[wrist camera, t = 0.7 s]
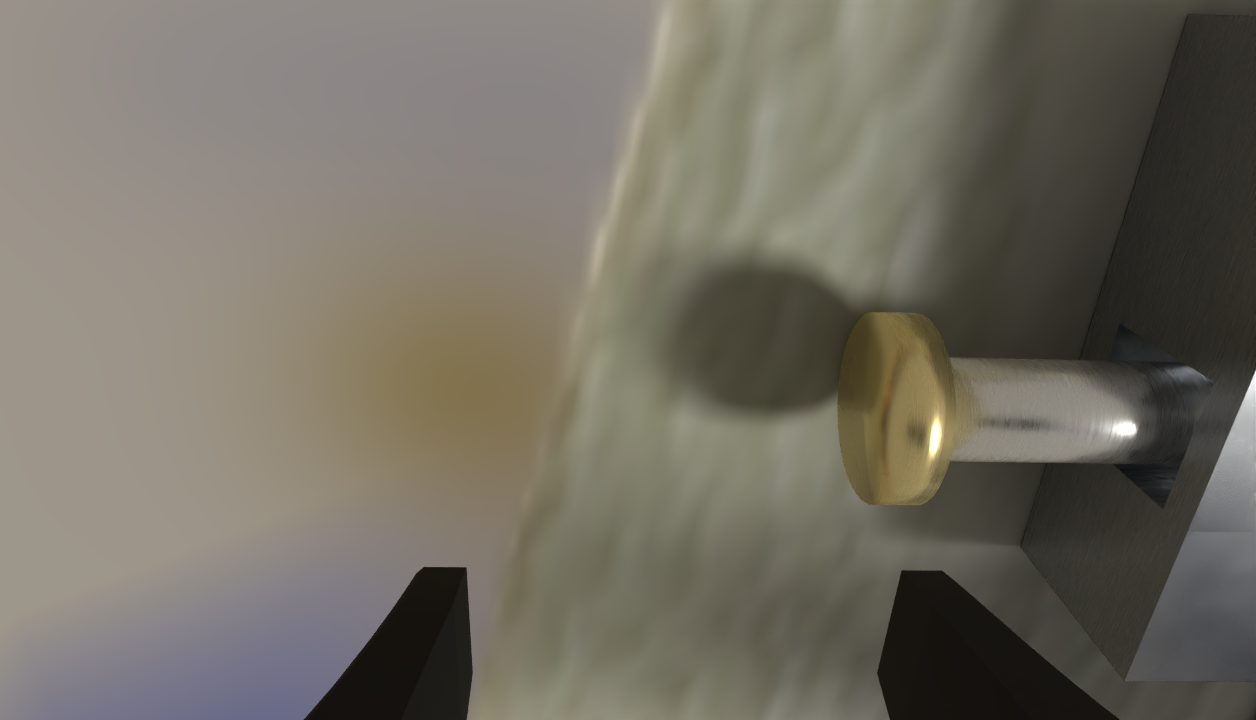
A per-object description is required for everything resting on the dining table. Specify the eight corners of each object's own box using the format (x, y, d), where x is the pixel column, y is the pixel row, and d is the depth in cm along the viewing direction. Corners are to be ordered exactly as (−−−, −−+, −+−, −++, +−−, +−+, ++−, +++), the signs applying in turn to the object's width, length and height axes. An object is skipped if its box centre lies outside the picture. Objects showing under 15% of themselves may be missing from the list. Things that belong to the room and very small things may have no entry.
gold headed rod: (1247, 295, 19) (1415, 372, 15) (1186, 446, 21) (1322, 549, 17) (855, 285, 19) (924, 361, 15) (827, 440, 21) (882, 545, 17)
